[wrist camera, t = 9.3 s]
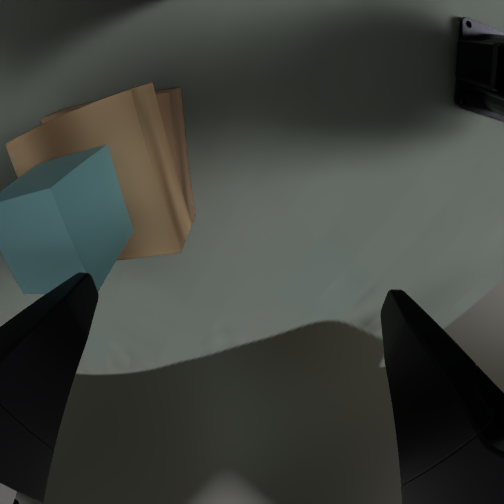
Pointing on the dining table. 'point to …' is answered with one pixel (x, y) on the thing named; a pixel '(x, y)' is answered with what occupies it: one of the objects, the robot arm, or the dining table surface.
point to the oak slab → (121, 163)
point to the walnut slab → (174, 131)
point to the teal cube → (64, 221)
